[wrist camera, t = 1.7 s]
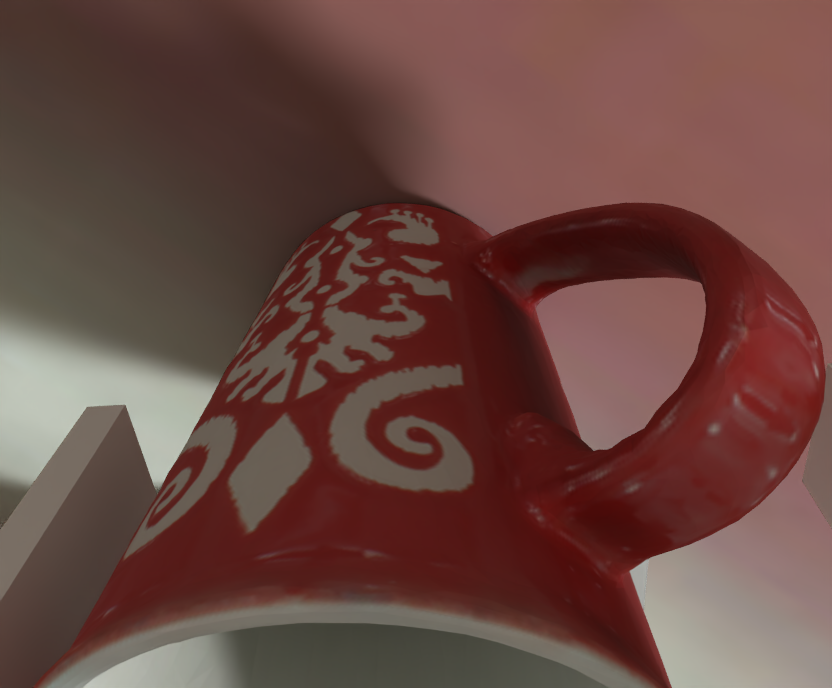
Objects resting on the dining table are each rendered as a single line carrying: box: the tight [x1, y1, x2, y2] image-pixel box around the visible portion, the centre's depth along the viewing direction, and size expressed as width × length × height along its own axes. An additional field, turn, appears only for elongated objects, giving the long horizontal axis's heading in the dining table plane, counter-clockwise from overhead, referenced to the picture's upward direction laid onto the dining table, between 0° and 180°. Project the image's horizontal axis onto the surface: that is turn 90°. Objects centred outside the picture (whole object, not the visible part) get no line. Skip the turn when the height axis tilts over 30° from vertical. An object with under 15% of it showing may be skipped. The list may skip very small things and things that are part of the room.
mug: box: [33, 203, 826, 688], centre depth 15 cm, size 13×9×14 cm
